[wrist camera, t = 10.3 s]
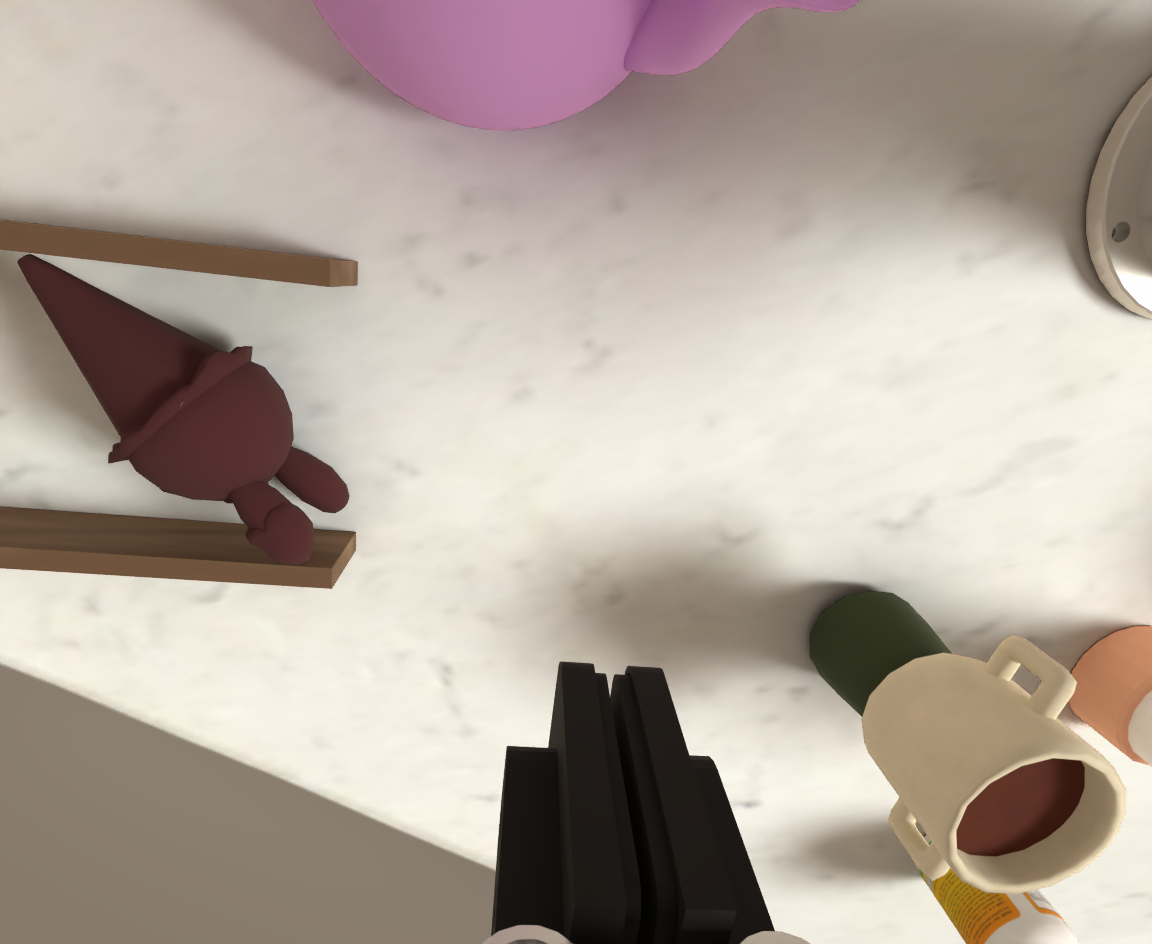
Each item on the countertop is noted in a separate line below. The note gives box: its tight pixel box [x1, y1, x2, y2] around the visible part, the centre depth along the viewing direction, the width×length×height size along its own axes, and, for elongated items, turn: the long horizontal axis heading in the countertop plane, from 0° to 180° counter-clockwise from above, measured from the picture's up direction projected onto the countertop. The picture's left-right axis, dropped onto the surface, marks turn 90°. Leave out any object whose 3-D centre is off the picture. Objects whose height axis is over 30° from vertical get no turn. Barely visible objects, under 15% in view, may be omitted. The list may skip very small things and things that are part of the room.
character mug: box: [810, 591, 1126, 894], centre depth 29 cm, size 11×7×13 cm, turn 159°
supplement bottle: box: [916, 835, 1079, 944], centre depth 36 cm, size 5×5×10 cm
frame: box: [0, 219, 358, 589], centre depth 26 cm, size 14×21×4 cm, turn 83°
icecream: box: [18, 254, 349, 565], centre depth 25 cm, size 7×7×15 cm
